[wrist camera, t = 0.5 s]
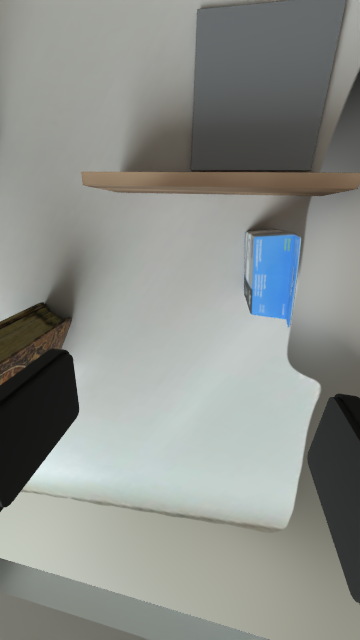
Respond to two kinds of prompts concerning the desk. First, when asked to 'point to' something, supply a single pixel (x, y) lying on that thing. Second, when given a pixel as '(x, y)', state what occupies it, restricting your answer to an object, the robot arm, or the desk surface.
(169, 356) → the desk surface
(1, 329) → the book
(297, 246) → the label tape box
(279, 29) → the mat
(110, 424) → the desk surface
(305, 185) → the walnut screen
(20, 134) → the desk surface
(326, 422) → the robot arm
